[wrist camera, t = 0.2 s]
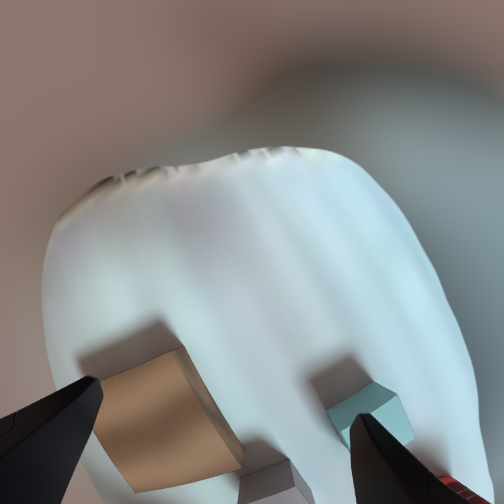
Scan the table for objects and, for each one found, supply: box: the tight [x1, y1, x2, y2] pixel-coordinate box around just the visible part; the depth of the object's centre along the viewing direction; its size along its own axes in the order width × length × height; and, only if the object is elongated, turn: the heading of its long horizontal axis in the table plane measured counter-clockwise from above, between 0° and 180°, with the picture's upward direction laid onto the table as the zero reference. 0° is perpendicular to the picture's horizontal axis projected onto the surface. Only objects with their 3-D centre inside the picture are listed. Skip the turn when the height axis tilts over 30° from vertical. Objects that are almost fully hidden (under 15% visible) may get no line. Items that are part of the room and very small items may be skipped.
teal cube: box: [326, 381, 415, 452], centre depth 18 cm, size 5×5×5 cm
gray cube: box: [237, 459, 315, 504], centre depth 17 cm, size 5×5×5 cm
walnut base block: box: [93, 346, 244, 493], centre depth 19 cm, size 11×11×4 cm
